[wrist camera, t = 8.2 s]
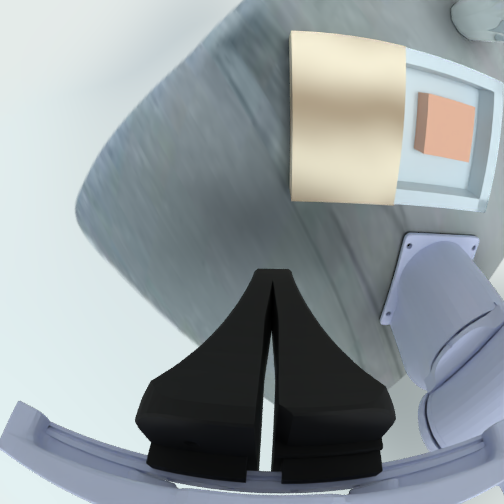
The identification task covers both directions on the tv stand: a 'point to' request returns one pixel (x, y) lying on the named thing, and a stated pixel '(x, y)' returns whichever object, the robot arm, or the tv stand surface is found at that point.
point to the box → (439, 168)
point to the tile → (444, 127)
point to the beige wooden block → (345, 118)
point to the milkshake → (479, 19)
